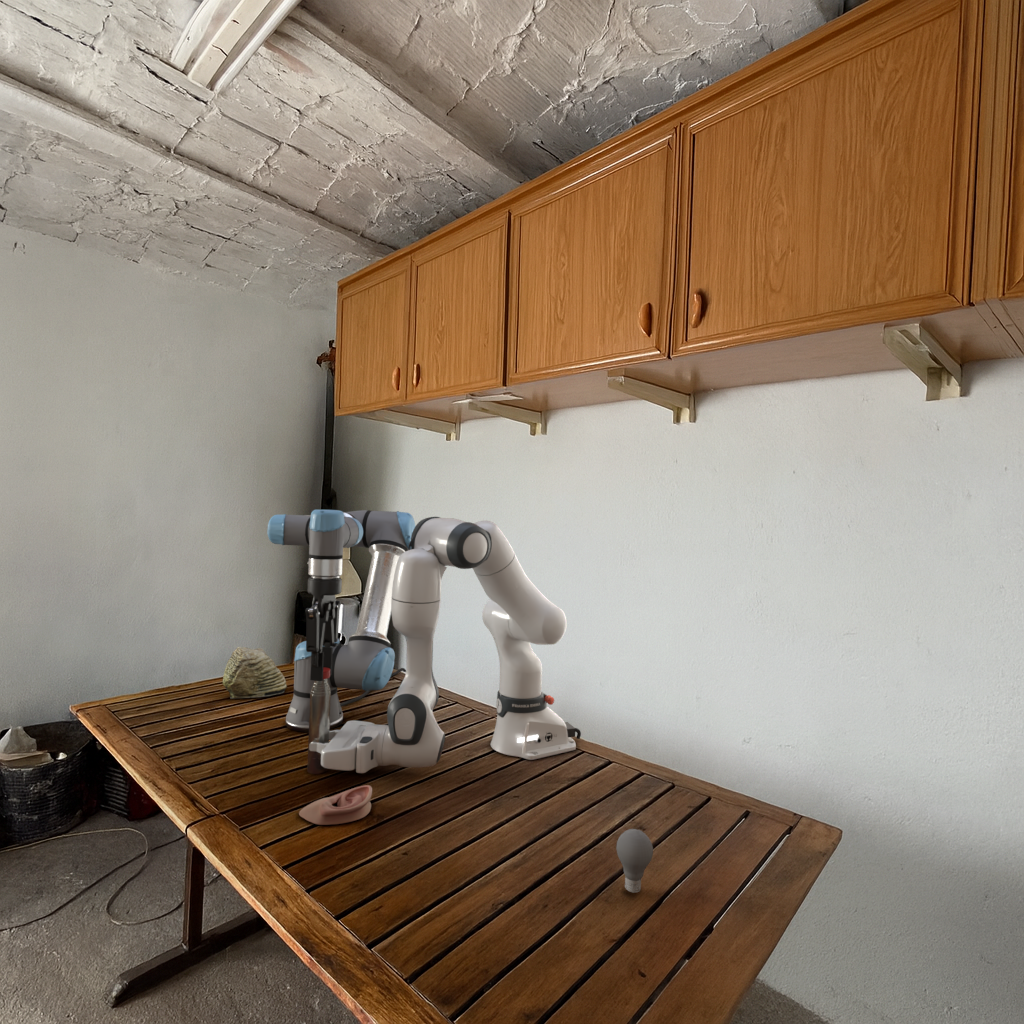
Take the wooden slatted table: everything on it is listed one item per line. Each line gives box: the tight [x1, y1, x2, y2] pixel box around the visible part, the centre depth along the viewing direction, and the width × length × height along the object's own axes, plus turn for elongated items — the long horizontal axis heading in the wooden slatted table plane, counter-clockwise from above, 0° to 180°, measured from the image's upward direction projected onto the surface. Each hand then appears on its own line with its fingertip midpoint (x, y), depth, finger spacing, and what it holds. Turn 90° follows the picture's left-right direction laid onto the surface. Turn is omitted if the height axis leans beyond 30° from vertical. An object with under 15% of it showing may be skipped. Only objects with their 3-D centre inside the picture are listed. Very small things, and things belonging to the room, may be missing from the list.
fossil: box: [222, 646, 288, 699], centre depth 198 cm, size 9×18×15 cm, turn 132°
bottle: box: [306, 679, 331, 775], centre depth 146 cm, size 5×5×23 cm
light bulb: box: [615, 828, 654, 894], centre depth 106 cm, size 6×6×10 cm
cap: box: [323, 667, 330, 679], centre depth 146 cm, size 4×4×2 cm
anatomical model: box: [298, 784, 373, 826], centre depth 127 cm, size 13×4×12 cm
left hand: (321, 677), depth 146 cm, fingers closed on cap, 4 cm apart
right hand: (314, 740), depth 147 cm, fingers closed on bottle, 4 cm apart
